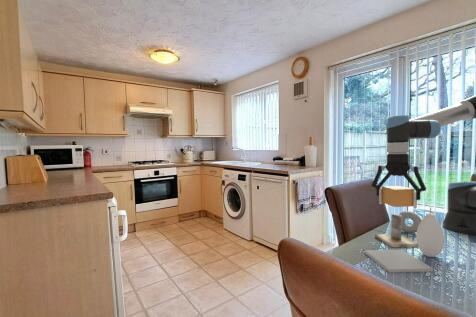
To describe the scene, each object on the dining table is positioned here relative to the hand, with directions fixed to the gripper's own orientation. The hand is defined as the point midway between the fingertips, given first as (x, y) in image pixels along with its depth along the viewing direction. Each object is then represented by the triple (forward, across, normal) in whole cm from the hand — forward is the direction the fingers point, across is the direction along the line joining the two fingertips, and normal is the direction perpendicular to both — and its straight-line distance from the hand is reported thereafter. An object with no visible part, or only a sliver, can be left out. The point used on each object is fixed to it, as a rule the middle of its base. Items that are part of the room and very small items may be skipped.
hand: (397, 205), depth 99 cm
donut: (+16, -2, -16) cm, 22 cm away
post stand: (+15, 0, 0) cm, 15 cm away
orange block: (-1, 0, 0) cm, 1 cm away
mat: (+15, -3, +21) cm, 26 cm away
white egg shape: (+15, -11, +8) cm, 21 cm away
